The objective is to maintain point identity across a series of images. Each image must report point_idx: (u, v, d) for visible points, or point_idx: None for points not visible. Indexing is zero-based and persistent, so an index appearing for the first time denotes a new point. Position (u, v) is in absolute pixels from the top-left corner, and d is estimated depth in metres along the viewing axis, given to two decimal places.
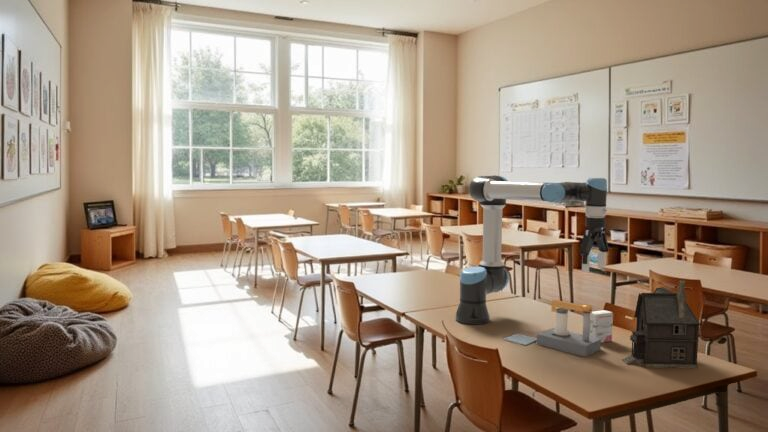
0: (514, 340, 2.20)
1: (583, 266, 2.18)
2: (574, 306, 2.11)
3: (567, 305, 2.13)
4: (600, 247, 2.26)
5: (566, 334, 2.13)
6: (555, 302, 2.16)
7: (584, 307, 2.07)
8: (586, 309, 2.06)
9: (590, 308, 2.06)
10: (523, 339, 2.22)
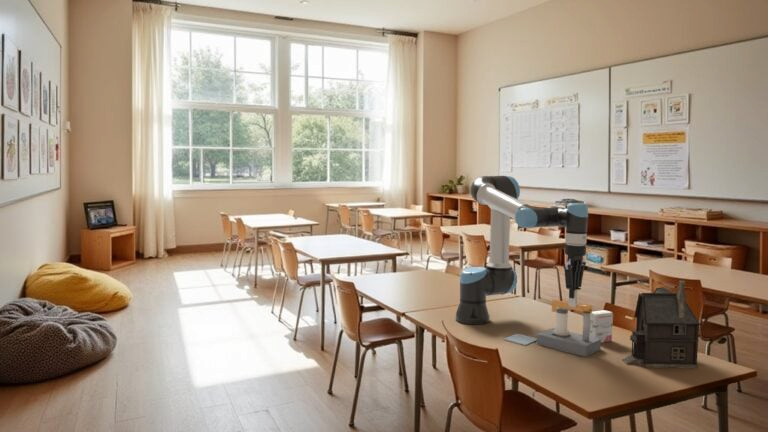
0: (514, 340, 2.20)
1: (570, 300, 2.11)
2: None
3: (567, 305, 2.13)
4: None
5: (566, 334, 2.13)
6: (555, 302, 2.16)
7: (584, 307, 2.07)
8: (586, 309, 2.06)
9: (590, 308, 2.06)
10: (523, 339, 2.22)
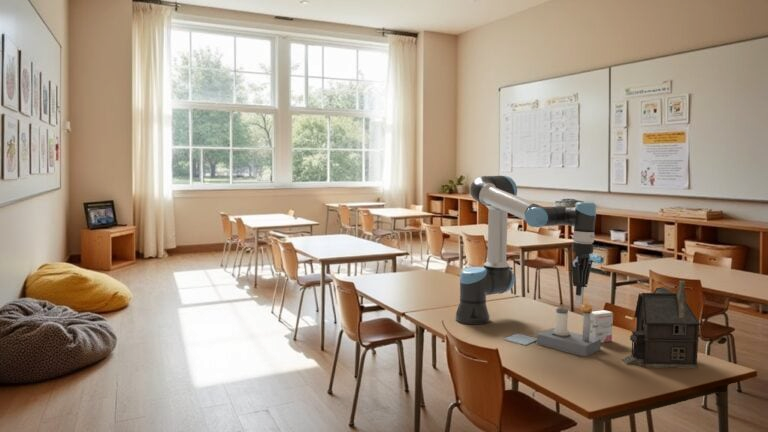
0: (514, 340, 2.20)
1: (577, 297, 2.14)
2: (583, 305, 2.12)
3: None
4: None
5: (566, 334, 2.13)
6: None
7: (582, 306, 2.08)
8: (582, 308, 2.08)
9: (585, 308, 2.06)
10: (523, 339, 2.22)
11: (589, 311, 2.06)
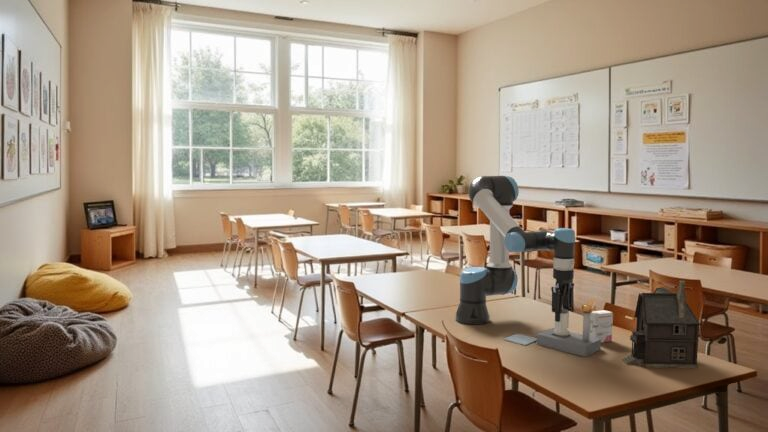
0: (514, 340, 2.20)
1: (556, 323, 2.14)
2: None
3: None
4: (564, 303, 2.17)
5: (566, 334, 2.13)
6: None
7: None
8: (582, 308, 2.08)
9: (584, 308, 2.07)
10: (523, 339, 2.22)
11: (588, 311, 2.06)
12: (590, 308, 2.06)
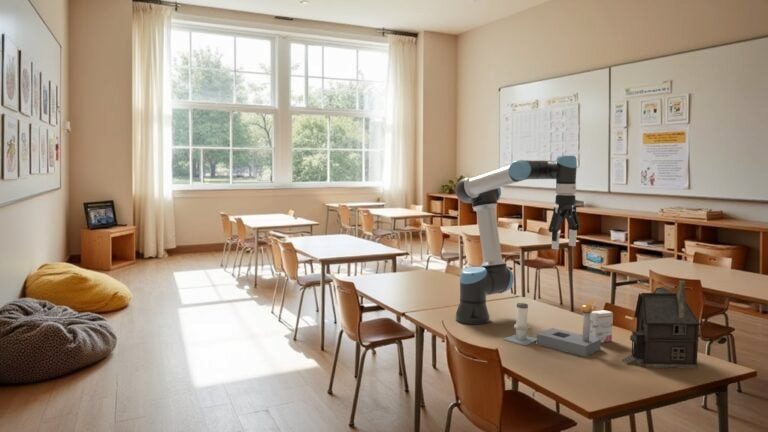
0: (514, 340, 2.20)
1: (553, 243, 2.18)
2: None
3: None
4: (571, 225, 2.27)
5: (526, 328, 2.19)
6: None
7: None
8: (582, 308, 2.08)
9: (584, 308, 2.07)
10: None
11: (588, 311, 2.06)
12: (590, 308, 2.06)
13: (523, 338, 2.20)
